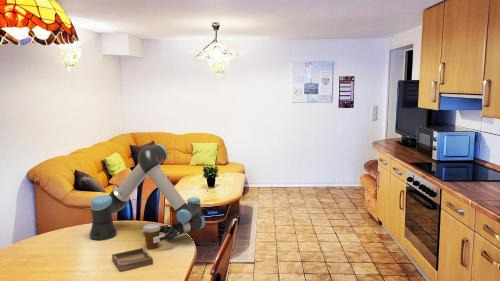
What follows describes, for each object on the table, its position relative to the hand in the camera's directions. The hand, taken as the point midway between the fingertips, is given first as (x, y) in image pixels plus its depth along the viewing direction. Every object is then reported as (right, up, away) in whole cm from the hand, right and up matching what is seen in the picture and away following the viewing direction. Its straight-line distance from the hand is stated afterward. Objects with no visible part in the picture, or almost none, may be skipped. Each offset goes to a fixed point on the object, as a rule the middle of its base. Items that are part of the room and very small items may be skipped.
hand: (147, 237), depth 221 cm
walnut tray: (-3, -9, -16) cm, 19 cm away
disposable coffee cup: (+2, -6, +3) cm, 7 cm away
